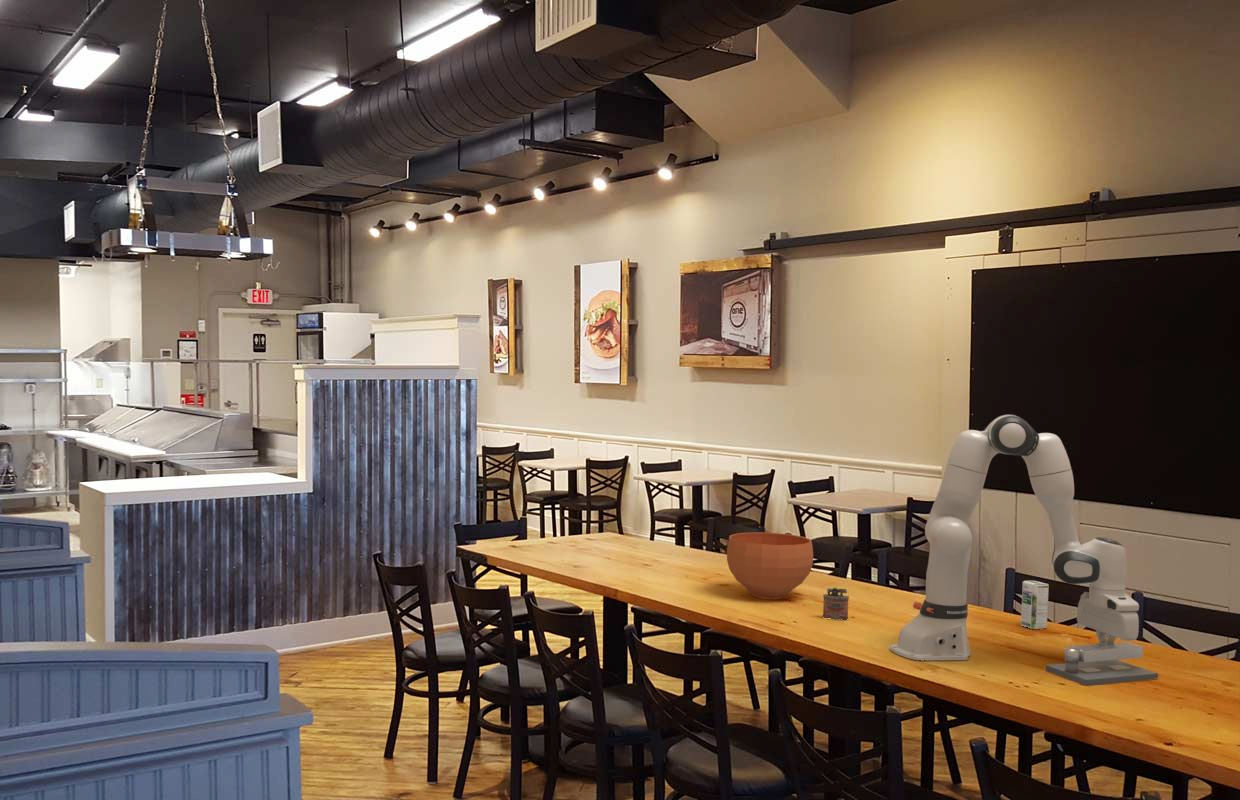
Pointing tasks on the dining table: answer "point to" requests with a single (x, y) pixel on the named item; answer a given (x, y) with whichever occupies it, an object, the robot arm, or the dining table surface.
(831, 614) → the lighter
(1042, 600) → the syrup box
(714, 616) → the dining table surface
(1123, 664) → the grey pivot base plate
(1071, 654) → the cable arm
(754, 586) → the bowl
